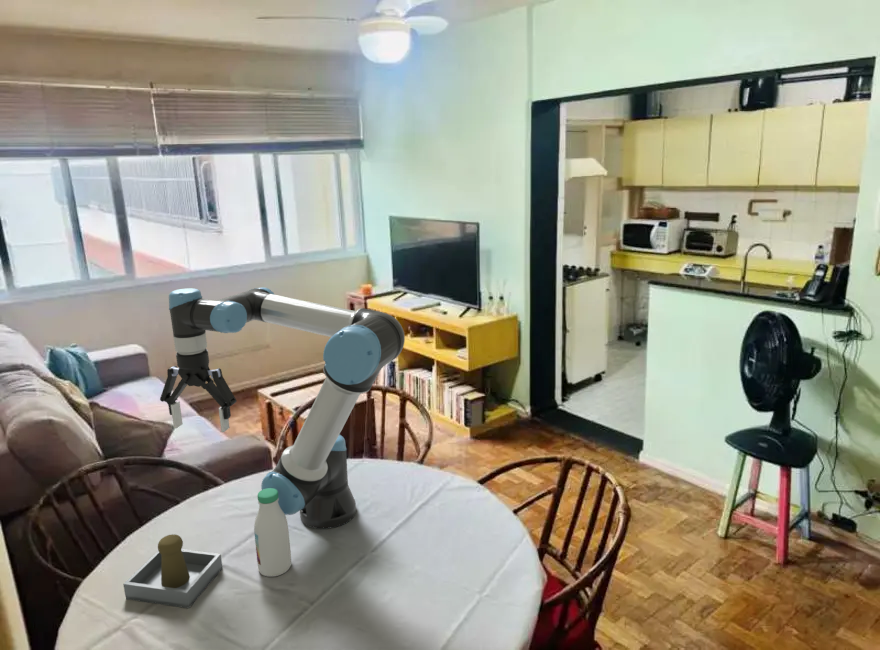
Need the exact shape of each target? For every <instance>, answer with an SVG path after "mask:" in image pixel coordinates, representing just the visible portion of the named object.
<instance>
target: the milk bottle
mask: <svg viewBox="0 0 880 650" xmlns="http://www.w3.org/2000/svg"><path fill="white" fill-rule="evenodd" d="M278 500H279V498H278V491H277V490H276V489H274V488H266V489H263V490H262V489H260V491H259V492H257V503H258V505H259V507H258V511H257V514H256V516H255V520H254V525H253V526H254V527H253V528H254V529H253V531H254V541H255V543H254V544H255V553H256V560H257V561H256V562H257V569H258V571H259V573H260V575H262V576H264V577H269V578H272V577H278V576H280V575H281V576H282V575H283V574H285V573H287V572H288V570H289V569H291V566H292V554H291V552H292V551H291V543H290V542H291V541H290V532H289V524H288V520H287V515H285V514H284V512H283V511H282V509H281V508H280V506H279V504H278Z"/></svg>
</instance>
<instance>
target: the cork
mask: <svg viewBox="0 0 880 650" xmlns="http://www.w3.org/2000/svg"><path fill="white" fill-rule="evenodd" d="M183 546H184V541H183V539H182V536H180V535H178V534H176V533H175V534H173V533H172V534H167V535H165V536H163V537H162V538H160V540H159V542H158V543H157V551H159V553H160V554H161V555H162V560H161V584H162V586H163V587H169V588H178V587H180V586H182V585H184V584H185V583H187V582H188V580H189V578H190V576H189V573H188V569H187V566H186V563H185V560H184V557H183V554H182V551H181V549H183Z"/></svg>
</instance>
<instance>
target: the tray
mask: <svg viewBox="0 0 880 650" xmlns="http://www.w3.org/2000/svg"><path fill="white" fill-rule="evenodd" d="M181 551H182V554H183V557H184V560H185V563H186V566H187V569H188V573H189V576H190V578H189V580H188V582H187V583H185V584H184V585H182V586H180V587H178V588H169V587H163V586H162V584H161V560H162V555H161V554H160V553H159V551H158V550H157V551H156V552H155V553H154V554H153V555H152V556H151V557H149V559H148V560H146V561H145V562H144V564H142V565H141V566H140V567H139V568H138V569H136V571H135V572H134V573H133V574H132V575H130V577H129V578H128V579H126V581H124V583H123V590H124V591H123V592H124V595H125V600H128V601H135V602H136V601H137V602H143V603H149V604H150V603H151V604H156V605H157V604H158V605H164V606H169V607H170V606H171V607H176V608H183V609H185V608H186V609H190V608H191V607H192V606H193V605H194V603H195V602H196V601H197V600H198V598H200V596H201V595H202V593H204V591H205V590H206V589H207V588H208V586H210V584H211V582H213V581H214V579H216V577H217V576H218V574H219V573H220V572H221V571H222V570H223V560H222V554H221V553H217V552H216V553H215V552H209V551H208V552H207V551H201V550H191V549H186V548H182V549H181Z"/></svg>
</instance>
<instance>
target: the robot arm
mask: <svg viewBox="0 0 880 650" xmlns="http://www.w3.org/2000/svg"><path fill="white" fill-rule="evenodd" d="M168 307H169V308H168V310H169V314H170V322H171V328H172V334H173V337H172V338H173V344H174V350H175V352H176V354H175V358H176V365H173V366H171V367H169V368H168V369H167V372H166V373H167V377H166V381H165V384H164V385H163V386H164V387H163V389H162V392H161V395H160V396H159V397H160V398H159V400H160V401H161V402H163V403H164V402H165V403H167V405H168V406H167V407H168V411H169V415H170V416H171V417H172V423H173V424H172V425H173V429H178V428H180V426H182V425H183V417H182V416H183V415H182V411H181V410H182V409H181V402H180V400H179V401H178V398H179V397H180V395H181V394H182V393H183V391H184V390H185V389H186V387H187V386H188V387H199V388H200V387H201V388H202V389H203V390H206V391H207V392H208V394H209V395H210V396H211V397H212V398H213V400H214V401H215V402H216V403H217V404H218V405H219V407H218V415H219V423H220V431H221V433H225V432H226V431H227V430H229V429H230V421H229V419H230V418H231V416H232V415H231V414H232V413H231V406H233V405H234V404H236V403H237V399H236V397H235V395H234V393H233V392H232V390H231V387H229V384H228V382H227V381H226V379H225V378H224V375H223V373H222V372H223V371H222V369H221V368H218V367H217V368H216V369H211V368H210V366H209V364H210V359H209V356H210V355H209V350H208V349H207V347H208V342H207V333H206V331H211V332H217V333H221V334H222V333H223V334H229V333H230V334H236V333H238V332H241V331H242V329H243V328H245V326H246V324H247V323H249V322H252V321H258V322H263V323H268V324H272V325H277V326H280V327H281V326H282V327H285V328H290V329H294V330H298V331H304V332H307V333H312V334H316V335H320V336H324V337H330V338H329V339H328V341H327V342H326V343H325V346H324V349H323V354H322V358H323V361H324V365H323V367H322V368H323V374H324V375H325V379H324V380H323V383H322V385H321V387H320V389H319V391H318V393H317V395H316V397H315V399H314V402H313V404H312V406H311V408H310V409H309V412H308V414H307V416H306V417H305V420H304V423H303V425H302V426H301V429H300V431H299V433H298V435H297V437H296V439H295V441H294V443H293V444H292V445H290V446H287V447H286V448H285V449H284V450H283V452H282V454H281V456H280V457H279V459H278V462H277V464H276V466H275V468H274V469H272V470H271V471H269V472H268V473H266V475H265V476H264V477H263V479H262V481H261V485H260V486H261V489H260V490H263V489H266V488H274V489H276V490H277V491H278V498H279V500H278V504H279V506H280V508H281V509H282V511H283V512H284V514H285V516H292V515H294V514H297V513H298V512H299V517H300V521H301V522H302V523H303V524H304V525H306V526H307V527H310V528H313V529H320V530H322V529H323V530H324V529H333V528H337V527H340V526H342V524H343V525H344V523H345V524H346V522H347V523H348V522H350V521H351V520H352V519H353V518H354V517H355V516H356V513H357V505H356V500H355V498H354V495H353V493H352V491H351V488H350V486H349V480H348V462H347V460H348V458H347V450H348V448H347V446H346V440H345V438H344V436H342V435H341V432H342V430H343V429H344V426H345V424H346V422H347V421H348V418H349V416H350V415H351V412H352V410H353V409H354V407H355V405H356V403H357V401H358V400H359V397H360V395H361V394H366V393H368V392H369V391H371V388H372V387H373V385H374V383H375V381H376V379H377V377H378V376H379V375H380V372H381V370H382V369H383V368H384V367H385V366H387V365H388V364H389V363H391V362H393V361H394V360H395V359H396V358H397V357H398V356H399V355H400V354H401V353H402V350H403V348H404V346H405V341H406V340H405V339H406V337H405V331H404V328H403V327H402V324H401V323H400V322H399V321H398V320H397V318H396V317H394V316H392V315H391V314H388V313H386V312H383V311H379V310H373V309H368V308H365V307H363V308H362V307H360V308H358V309H357V310H351V309H348V308H343V307H338V306H333V305H328V304H322V303H318V302H312V301H308V300H303V299H298V298H293V297H289V296H288V297H287V296H283V295H278V294H275V293H274V291H272V290H271V289H270V288H268V287H254V288H251V289H249V290H247V291H243V292H240V293H237V294H234V295H230V296H228V297H224V298H221V299H220V298H219V299H205V298H203V296H202V293H201V290H199V289H197V288H194V287H193V288H187V287H185V288H180V289H175V290H172V291H170V293H169V294H168ZM178 375H179V377H180V378H181V379H180V380H179V382H178V383H177V386H176V387H175V383H176V380H177V378H178ZM210 376H211V377H210ZM174 387H175V389H174ZM353 516H354V517H353ZM350 519H351V520H350ZM349 520H350V521H349ZM339 525H340V526H339ZM336 526H337V527H336Z"/></svg>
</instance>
